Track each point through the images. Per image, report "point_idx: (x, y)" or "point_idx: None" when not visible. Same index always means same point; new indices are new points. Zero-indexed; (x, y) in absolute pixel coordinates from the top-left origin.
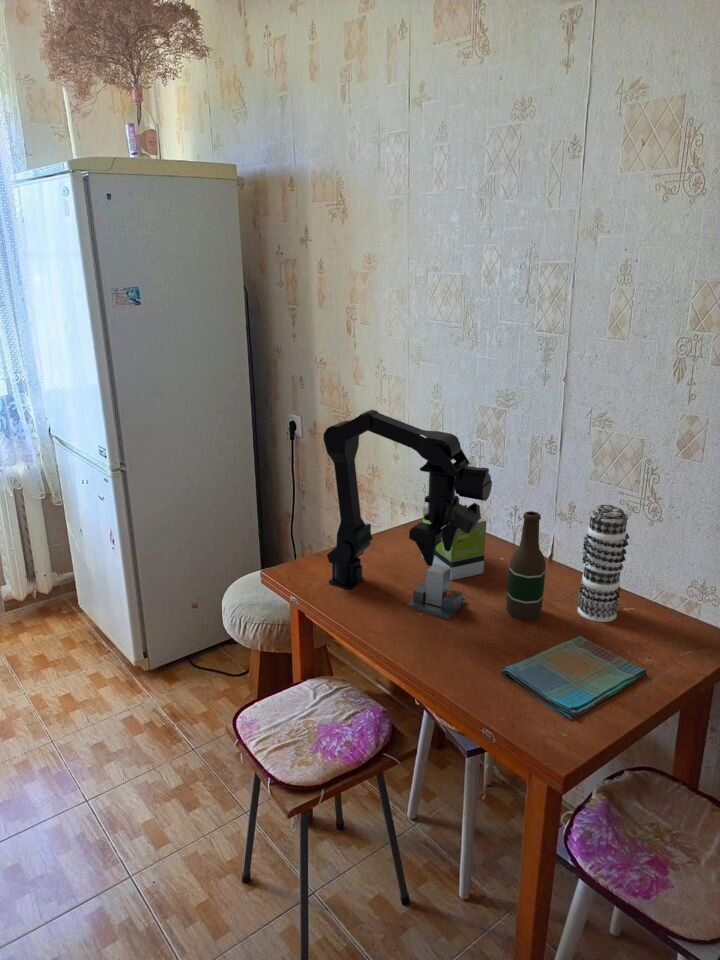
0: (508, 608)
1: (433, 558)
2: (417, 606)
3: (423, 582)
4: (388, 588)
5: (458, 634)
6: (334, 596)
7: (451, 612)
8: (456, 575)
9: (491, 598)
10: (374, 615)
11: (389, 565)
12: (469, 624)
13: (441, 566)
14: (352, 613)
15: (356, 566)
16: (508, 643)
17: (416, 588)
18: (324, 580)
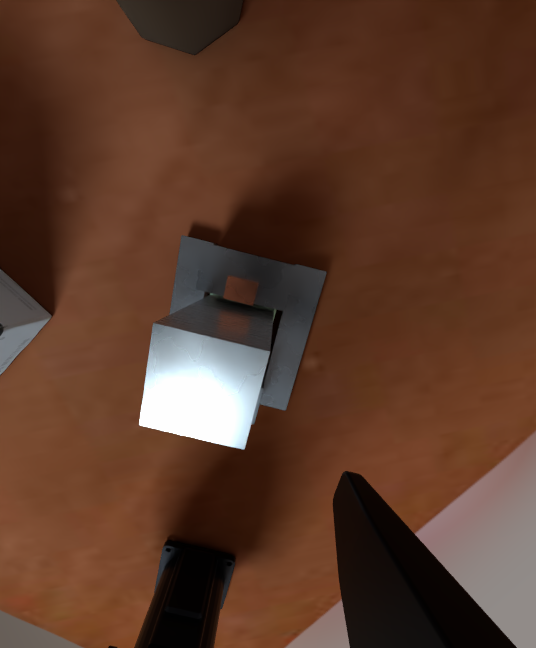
0: (207, 24)
1: (395, 541)
2: (292, 382)
3: None
4: (188, 475)
5: (414, 218)
6: (281, 576)
7: (301, 266)
8: (21, 302)
9: (115, 143)
10: None
11: (51, 500)
12: (336, 192)
13: (162, 380)
14: None
15: (186, 624)
16: (448, 3)
17: None
18: None
